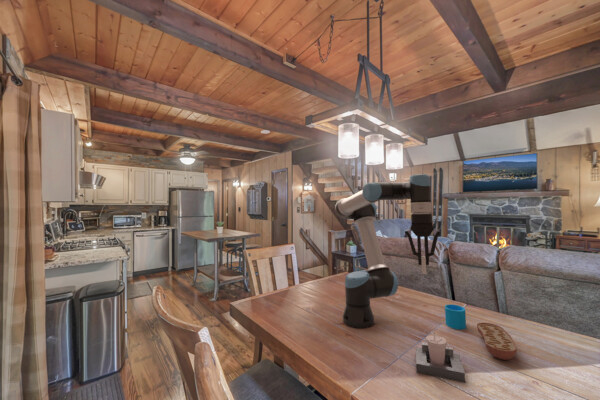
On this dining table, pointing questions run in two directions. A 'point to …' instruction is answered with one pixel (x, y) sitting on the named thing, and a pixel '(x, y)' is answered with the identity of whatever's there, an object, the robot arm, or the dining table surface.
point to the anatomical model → (497, 341)
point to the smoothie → (436, 348)
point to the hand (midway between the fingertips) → (424, 273)
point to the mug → (455, 316)
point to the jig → (450, 373)
